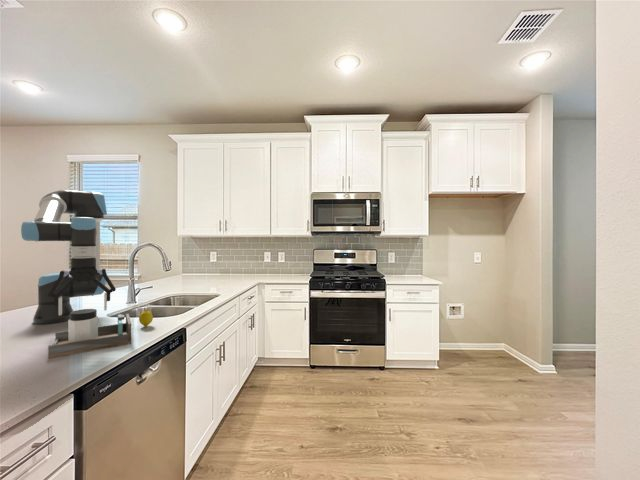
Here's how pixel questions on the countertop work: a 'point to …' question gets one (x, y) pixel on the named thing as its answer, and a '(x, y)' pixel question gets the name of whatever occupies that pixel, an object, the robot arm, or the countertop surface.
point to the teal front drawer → (91, 340)
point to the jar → (83, 325)
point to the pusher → (120, 323)
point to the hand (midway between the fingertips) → (83, 312)
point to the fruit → (146, 318)
